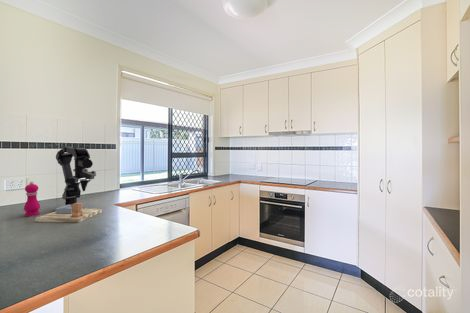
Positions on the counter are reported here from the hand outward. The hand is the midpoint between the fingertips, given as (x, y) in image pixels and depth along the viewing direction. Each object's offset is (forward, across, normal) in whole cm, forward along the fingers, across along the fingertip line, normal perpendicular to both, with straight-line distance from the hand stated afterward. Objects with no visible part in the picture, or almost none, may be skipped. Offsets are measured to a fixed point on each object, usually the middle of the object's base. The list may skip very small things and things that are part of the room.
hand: (80, 192), depth 145 cm
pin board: (+12, -12, -3) cm, 18 cm away
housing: (+10, -9, 0) cm, 14 cm away
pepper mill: (+12, -10, +22) cm, 27 cm away
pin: (+12, -17, -10) cm, 24 cm away
